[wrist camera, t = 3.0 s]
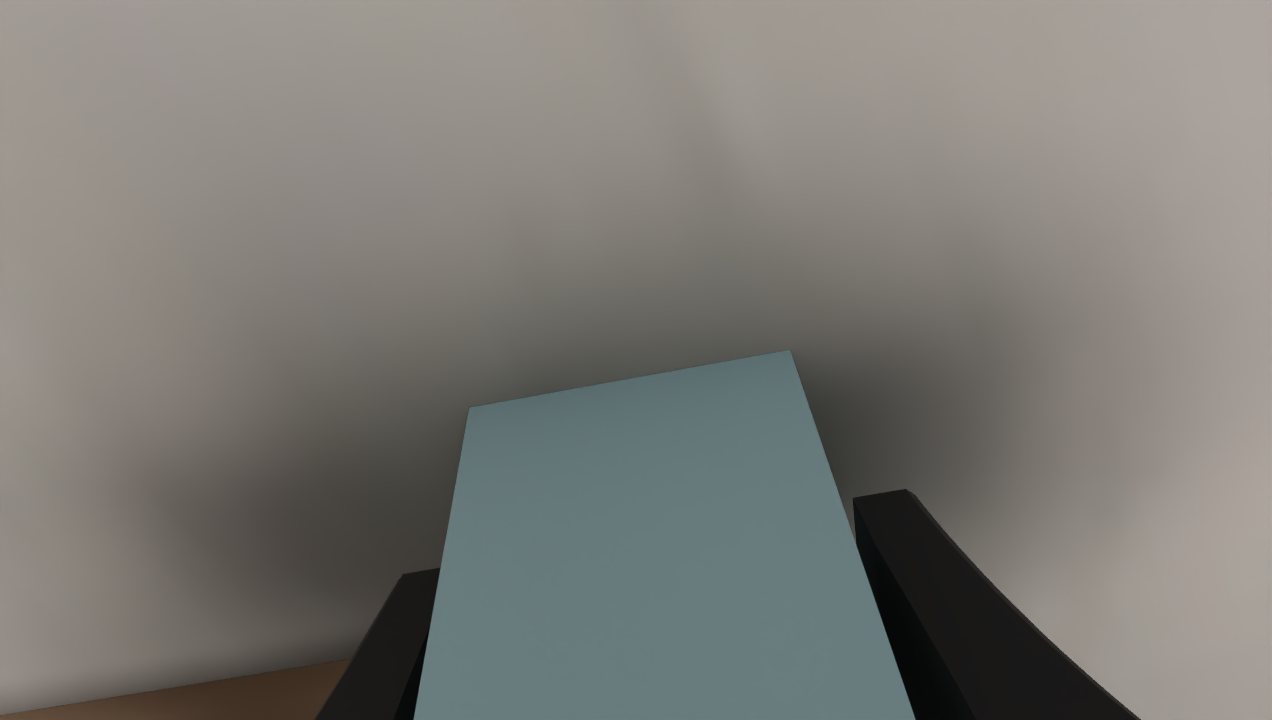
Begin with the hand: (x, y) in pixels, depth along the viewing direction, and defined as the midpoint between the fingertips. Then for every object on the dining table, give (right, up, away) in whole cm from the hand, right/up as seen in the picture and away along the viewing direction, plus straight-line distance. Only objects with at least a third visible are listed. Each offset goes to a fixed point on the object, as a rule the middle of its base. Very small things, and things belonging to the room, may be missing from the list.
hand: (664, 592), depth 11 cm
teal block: (0, +1, +1) cm, 2 cm away
